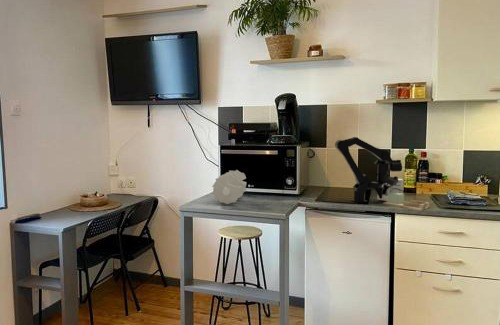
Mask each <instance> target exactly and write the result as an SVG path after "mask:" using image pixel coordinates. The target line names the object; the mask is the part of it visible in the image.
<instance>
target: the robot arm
mask: <svg viewBox="0 0 500 325" xmlns="http://www.w3.org/2000/svg"><path fill="white" fill-rule="evenodd" d="M354 145H356V146H357V147H359V148H361V149H364V150H366V151H368V152H370V153H371V154H372V155H374V156H375V157H376V158H377V159H376V160H375V162H374V163H373V164H375V165H377V173H375V175H376V176H377V177H376V178H377V179H376V180H375V181H370V179H369V178H368V176H367V174H365V173H362V172H361V170H360V169H359V167H358V165H357V163H356V162H355V160H354V159H353V158H354V157H353V156H352V154H351V153H350V149H349V148H350V147H352V146H354ZM334 146H335V149H336V150H337V151H338V152H339V153H340V154H341V155H342V157H343V158H344V160H345V162H346V163H347V165H348V168H350V171H351V172H352V173H353V175H354V179H355V182H356V183H354V185H353V187H352V188H353V189H352V190H354V195H353V200H351V202H353V203H359V204H364V203H366V202H368V200H366V192H367V190H368V189H369V188H374V190H375V191H376V193H377V194H378V195H379V198H382V194H384V195H387V189H388V188H389V187H391V186H394V185H396V184H397V183H398V179H399V177H398V176H397V175H395V176H391V175H390V174H391V173H389V171H390V172H393V173H394V172H399V173H400V172H402V171H403V165H402V160H401V159H393V158H392V157H391V155H390V152H389V151H388V150H385V149H382V148H378V147H375V146H374V145H371V144H370V143H368V142H366V141H364V140H363V139H360V138H359V137H357V136H353V137H350V138H347V139H343V140H342V139H337V140H336V141H335V143H334ZM388 184H390V185H391V186H389V185H388Z"/></svg>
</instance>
